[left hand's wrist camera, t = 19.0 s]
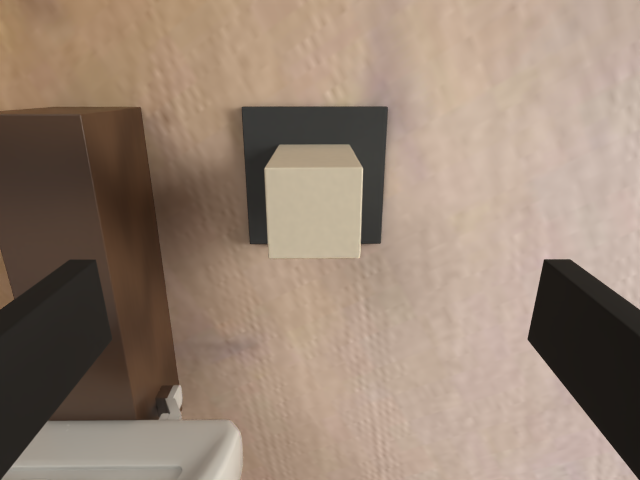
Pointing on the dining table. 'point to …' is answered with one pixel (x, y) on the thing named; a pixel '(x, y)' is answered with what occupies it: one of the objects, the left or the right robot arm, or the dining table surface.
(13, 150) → the walnut box
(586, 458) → the dining table surface
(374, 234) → the mat
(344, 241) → the beige block
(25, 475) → the right robot arm
